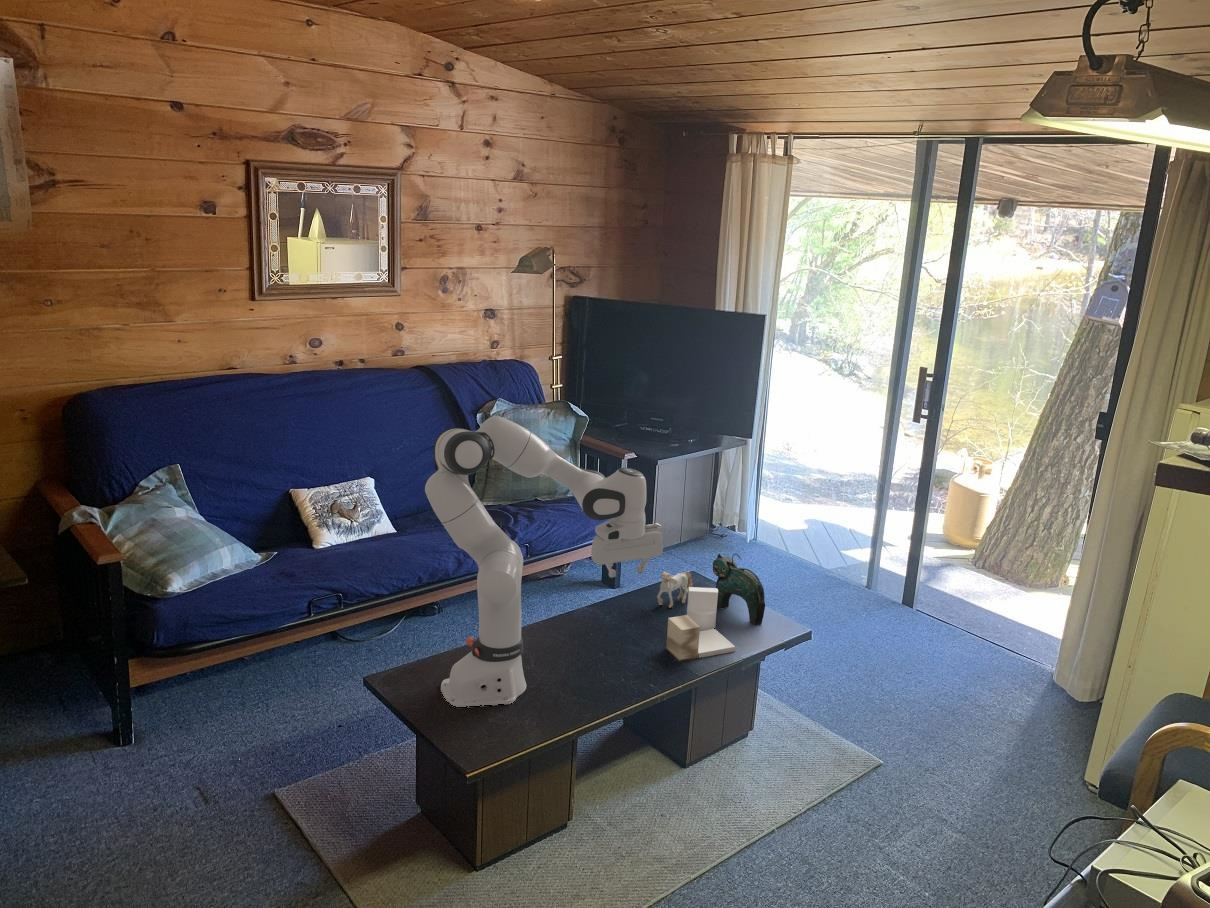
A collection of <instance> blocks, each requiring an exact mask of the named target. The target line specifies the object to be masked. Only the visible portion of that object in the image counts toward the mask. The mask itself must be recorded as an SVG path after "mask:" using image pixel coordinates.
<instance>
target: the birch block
mask: <svg viewBox="0 0 1210 908" xmlns="http://www.w3.org/2000/svg"><path fill="white" fill-rule="evenodd" d="M699 635H700V626H699V625H697V624H696V623H695V622H694V621H693V620H692V619H691V618H690V617H688V616H687V614H684V615H679V616H678V615H677V616H673V617H668V618H667V634H666V645H665V646H666V650H667V651H668V652H669V654H671V655H672V656H673V657H674V658H675V659H676V660H677V662H684V661H685V662H686V661H690V660H691V659H692V660H697V659H698V648H699ZM696 658H697V659H696Z"/></svg>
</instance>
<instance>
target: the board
mask: <svg viewBox="0 0 1210 908" xmlns="http://www.w3.org/2000/svg"><path fill="white" fill-rule="evenodd" d="M732 652H734V653H735V652H736V646H735V645H734V644H733V643H732V642H731V641H729V640H728V639H727V638H726V637H725V636H724V635H723V634H721V633H720V632H719V631H718V630H717V629H716V628H715V629H710V630H704V631H700V635H699V648H698V658H699V659H701V657H702V658H706V657H713V656H716V655H717V656H718V655H722V654H728V653H732ZM698 658H697V659H698Z"/></svg>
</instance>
